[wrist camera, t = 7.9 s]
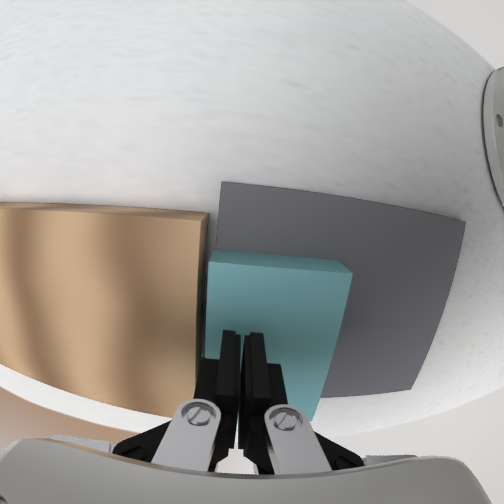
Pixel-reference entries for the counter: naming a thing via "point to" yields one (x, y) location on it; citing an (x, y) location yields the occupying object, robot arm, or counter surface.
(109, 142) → the counter surface
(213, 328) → the teal tile
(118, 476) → the robot arm
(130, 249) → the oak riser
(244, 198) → the charcoal mat
